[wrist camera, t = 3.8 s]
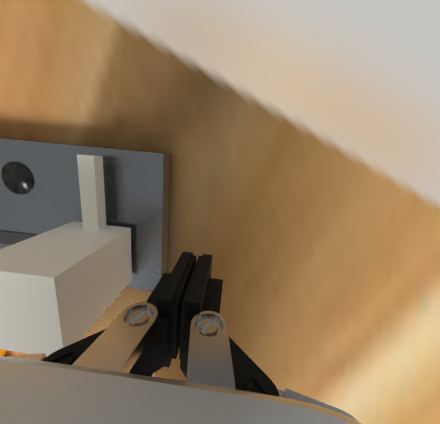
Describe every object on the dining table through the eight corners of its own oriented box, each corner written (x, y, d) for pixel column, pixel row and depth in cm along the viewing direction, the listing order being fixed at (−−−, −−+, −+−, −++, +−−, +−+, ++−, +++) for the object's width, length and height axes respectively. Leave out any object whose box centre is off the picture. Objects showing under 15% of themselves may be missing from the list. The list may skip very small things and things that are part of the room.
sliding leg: (131, 280, 15) (64, 358, 9) (78, 273, 15) (-22, 346, 9) (129, 158, 13) (37, 157, 7) (66, 152, 13) (-75, 146, 7)
